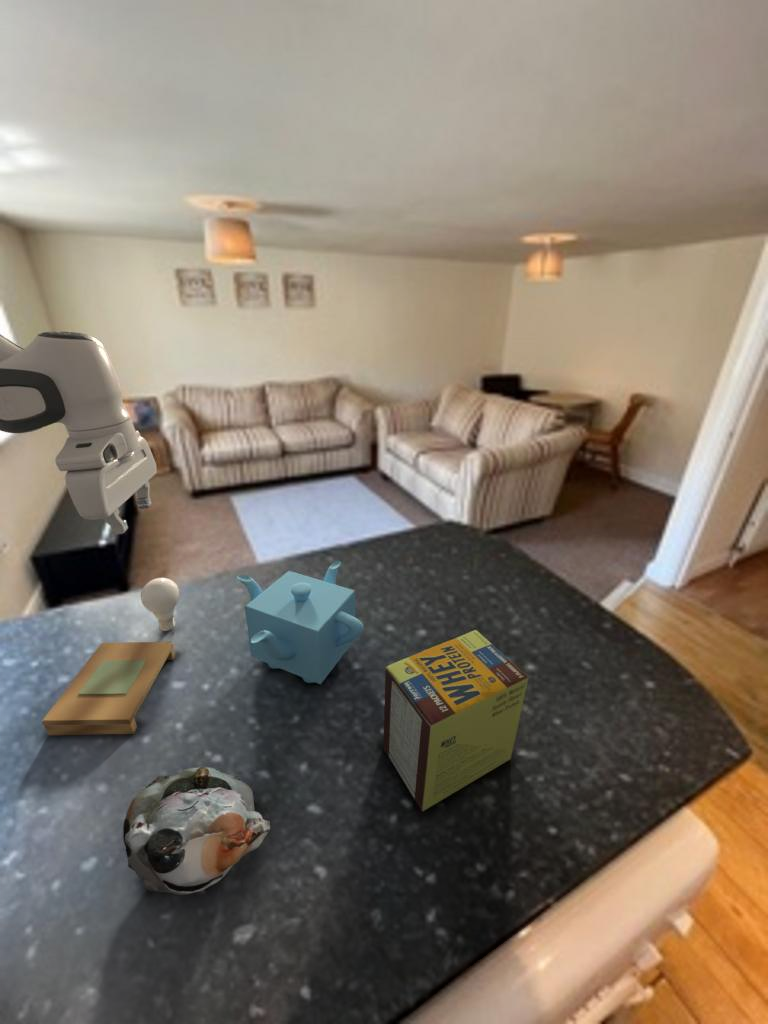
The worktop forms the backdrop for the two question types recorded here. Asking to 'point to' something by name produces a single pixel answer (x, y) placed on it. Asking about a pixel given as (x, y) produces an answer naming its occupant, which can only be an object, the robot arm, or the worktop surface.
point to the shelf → (109, 689)
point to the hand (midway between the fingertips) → (134, 518)
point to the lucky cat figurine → (191, 829)
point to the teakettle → (301, 623)
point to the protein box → (451, 715)
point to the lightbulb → (161, 601)
